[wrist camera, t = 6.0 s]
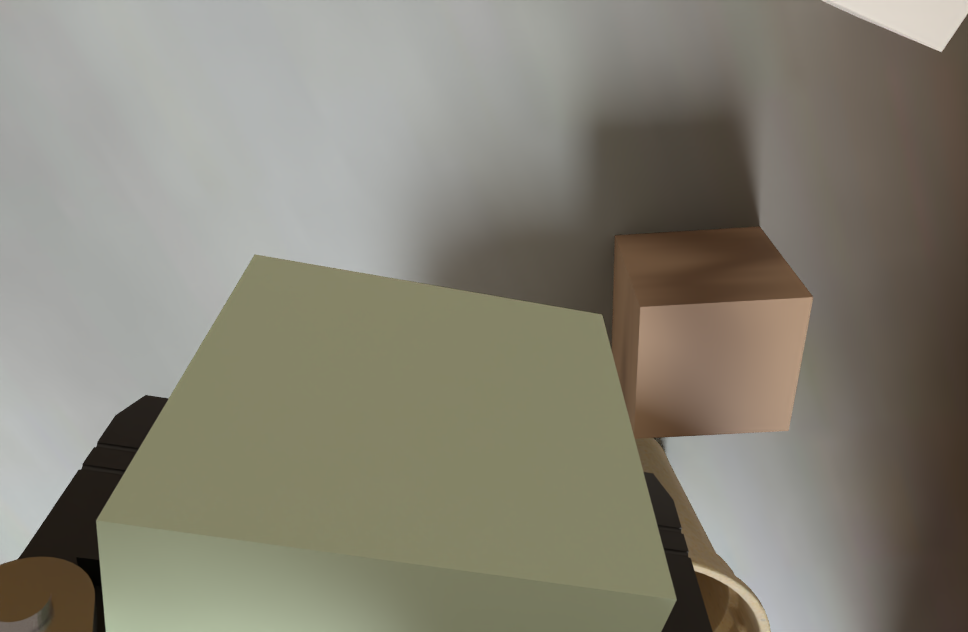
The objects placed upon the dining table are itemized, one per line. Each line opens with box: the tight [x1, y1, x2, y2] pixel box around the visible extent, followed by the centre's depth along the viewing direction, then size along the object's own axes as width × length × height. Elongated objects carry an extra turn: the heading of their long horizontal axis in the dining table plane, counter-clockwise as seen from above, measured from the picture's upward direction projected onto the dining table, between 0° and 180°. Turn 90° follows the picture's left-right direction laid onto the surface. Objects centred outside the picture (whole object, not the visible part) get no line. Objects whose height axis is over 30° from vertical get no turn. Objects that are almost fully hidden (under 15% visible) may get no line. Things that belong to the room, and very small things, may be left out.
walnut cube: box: [612, 227, 813, 439], centre depth 26 cm, size 5×5×5 cm
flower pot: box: [635, 438, 771, 632], centre depth 28 cm, size 9×9×9 cm
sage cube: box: [96, 255, 677, 632], centre depth 10 cm, size 5×5×5 cm
